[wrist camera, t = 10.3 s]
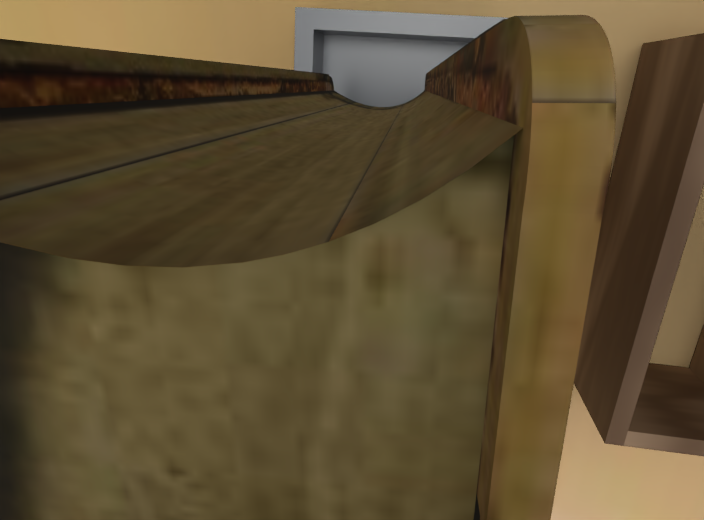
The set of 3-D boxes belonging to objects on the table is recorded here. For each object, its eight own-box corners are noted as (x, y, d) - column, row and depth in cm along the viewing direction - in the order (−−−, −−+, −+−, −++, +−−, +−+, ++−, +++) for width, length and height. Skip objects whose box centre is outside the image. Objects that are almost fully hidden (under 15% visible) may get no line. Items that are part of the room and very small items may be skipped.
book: (418, 356, 31) (434, 1206, 7) (331, 351, 31) (92, 1122, 8) (432, 74, 25) (656, -58, 2) (327, 75, 26) (-441, -24, 3)
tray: (499, 26, 29) (511, 18, 25) (450, 359, 36) (453, 391, 32) (311, 16, 30) (295, 7, 26) (301, 341, 37) (288, 370, 33)
